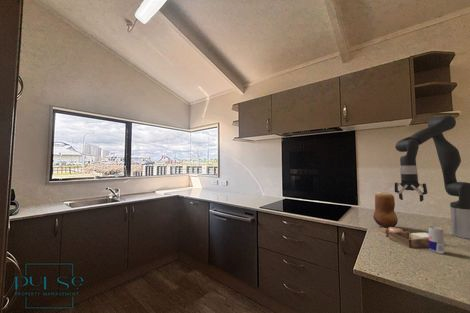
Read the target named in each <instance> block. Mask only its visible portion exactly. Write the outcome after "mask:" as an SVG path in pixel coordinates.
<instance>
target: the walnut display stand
mask: <svg viewBox="0 0 470 313" xmlns="http://www.w3.org/2000/svg"><path fill="white" fill-rule="evenodd" d="M388 239H389V240H390V241H392V242H395V243H397V244H399V245H402V246H405V247H407V248H409V249H411V248H412V249H413V248H429V239H427V238H424V239H411V237H410V231H403V232H389V236H388Z"/></svg>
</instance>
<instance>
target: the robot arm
mask: <svg viewBox="0 0 470 313" xmlns="http://www.w3.org/2000/svg"><path fill="white" fill-rule="evenodd" d="M456 125H457V119H455V117H453V116H452V115H443V116H438V117H434V118H431V119H429V120H428V122H427V127H426V128H423V129H420V130H418V131H417V132H415V133H414V134H412V135H410V136H407V137H405V138H402V139H400V140H398V141H397V142H396V143H395V146H394V148H395V150H396V151H398V152H400V153H405V152H406V154H405V155H402V156H400V159H399V163H400V182H394V193H397V194H398V199H400V200H401V201H402V200H403V199H404V198H403V195H404V194H403V192H404V191H413V192H414V191H416V193H418V195H419V202H421V203H422V202H423V201H424V200H425V199H424V195H427V194H428V189H427V183H419V178H418V177H419V176H418V167H417V156H418V151H419V148H420V145H422V144H424V143H425V142H427V141H429V140H431V139H432V140H433V143H434V146H435V150H436V154H437V158H438V161H439V164H440V169H441V172H442V175H443V176H442V177H443V178H442V179H443V183H444V190H445V192H446V193H447V194H448V195H449V196H453V197H457V198H458V199H457V200H455V201H451V202H450V204H449V207H450V208H449V210H450V219H451V221H450V222H451V235H452V236H455V237H457V238H463V239H469V240H470V182H468V181H467V182H464V181H458V179H457V175H456V173H457V170H458V168H459V167H460V165H461V162H462V158H461V155H460V151H459V149H458V148H457V147H456V145H453V144H452V143H451V142H450V141H448V140H447V139H446V138H445V136H444V133H445V132H447V131H450V130H453V129H454V128H455V126H456ZM400 186H401V187H402V188H401V189H400V190H399V187H400ZM419 187H421V188H422V189H423V192H422V191H421V189H420V188H419ZM403 201H404V200H403Z"/></svg>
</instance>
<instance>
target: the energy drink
mask: <svg viewBox="0 0 470 313" xmlns="http://www.w3.org/2000/svg"><path fill="white" fill-rule="evenodd" d="M427 230H428V231H427V233H428V234H429V247H428V248H429V251H430V252H432V253H435V254H440V255H443V254H445V238H444V229H443V227H439V226H432V225H430V226H428V228H427Z"/></svg>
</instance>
